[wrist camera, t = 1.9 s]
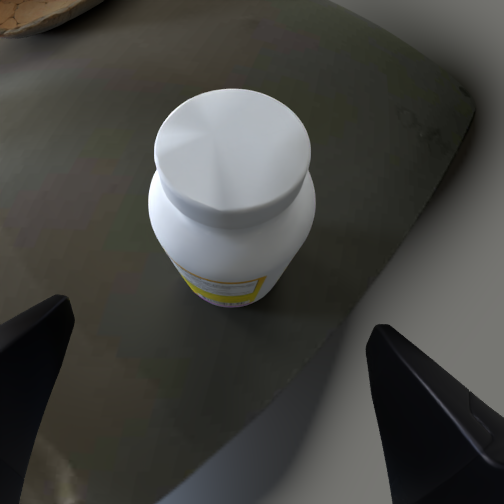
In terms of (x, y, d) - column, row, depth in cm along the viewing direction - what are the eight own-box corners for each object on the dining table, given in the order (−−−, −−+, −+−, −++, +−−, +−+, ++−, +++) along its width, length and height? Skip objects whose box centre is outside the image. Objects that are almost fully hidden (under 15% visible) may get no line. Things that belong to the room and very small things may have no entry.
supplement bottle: (244, 197, 22) (260, 49, 10) (300, 272, 21) (387, 173, 9) (163, 246, 21) (93, 124, 9) (216, 329, 20) (195, 300, 7)
